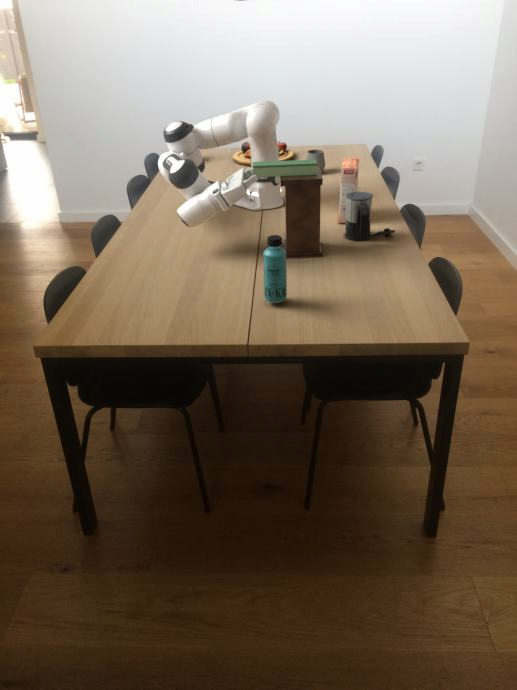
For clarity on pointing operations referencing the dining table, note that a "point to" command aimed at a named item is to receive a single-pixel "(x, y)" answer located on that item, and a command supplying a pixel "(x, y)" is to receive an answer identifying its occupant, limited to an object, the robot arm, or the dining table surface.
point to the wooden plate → (245, 154)
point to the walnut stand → (302, 215)
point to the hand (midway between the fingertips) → (257, 172)
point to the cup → (317, 158)
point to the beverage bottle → (275, 270)
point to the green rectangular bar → (285, 168)
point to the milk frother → (360, 216)
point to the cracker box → (347, 184)
